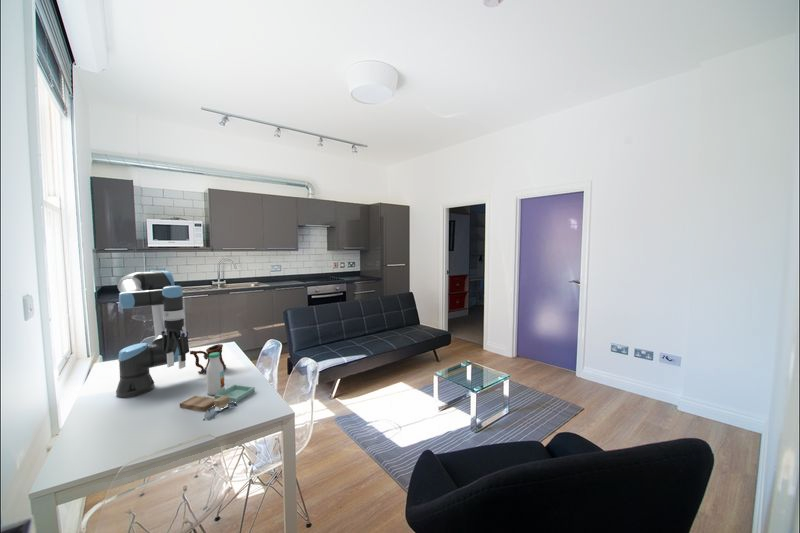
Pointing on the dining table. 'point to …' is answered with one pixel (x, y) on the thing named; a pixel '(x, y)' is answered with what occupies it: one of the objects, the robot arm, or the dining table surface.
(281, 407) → the dining table surface
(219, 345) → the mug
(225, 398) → the block
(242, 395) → the tray
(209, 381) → the milk bottle
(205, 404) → the tan wooden board
